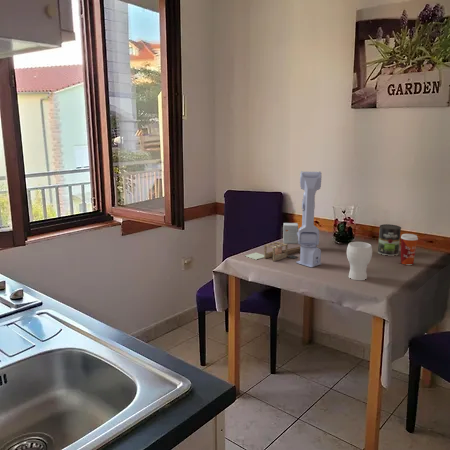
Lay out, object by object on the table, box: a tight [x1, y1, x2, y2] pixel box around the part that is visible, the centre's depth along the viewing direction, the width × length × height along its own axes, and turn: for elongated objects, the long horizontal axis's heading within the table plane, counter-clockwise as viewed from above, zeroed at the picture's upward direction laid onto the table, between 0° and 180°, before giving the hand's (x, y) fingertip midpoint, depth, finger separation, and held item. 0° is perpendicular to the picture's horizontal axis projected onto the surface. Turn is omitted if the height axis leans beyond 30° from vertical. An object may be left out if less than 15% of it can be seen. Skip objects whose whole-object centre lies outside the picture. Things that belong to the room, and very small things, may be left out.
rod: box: [282, 246, 301, 256], centre depth 236 cm, size 2×18×2 cm, turn 123°
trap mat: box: [286, 254, 299, 260], centre depth 228 cm, size 4×4×1 cm
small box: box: [282, 222, 299, 245], centre depth 254 cm, size 8×6×10 cm
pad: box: [244, 252, 265, 261], centre depth 230 cm, size 8×8×1 cm
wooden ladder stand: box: [263, 241, 289, 262], centre depth 227 cm, size 6×10×7 cm, turn 131°
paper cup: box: [400, 233, 419, 265], centre depth 216 cm, size 8×8×14 cm
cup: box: [346, 241, 373, 281], centre depth 198 cm, size 11×11×15 cm
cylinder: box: [273, 244, 283, 255], centre depth 228 cm, size 4×4×6 cm
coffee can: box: [377, 223, 402, 257], centre depth 233 cm, size 10×10×14 cm
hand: (306, 247), depth 243 cm, fingers closed
